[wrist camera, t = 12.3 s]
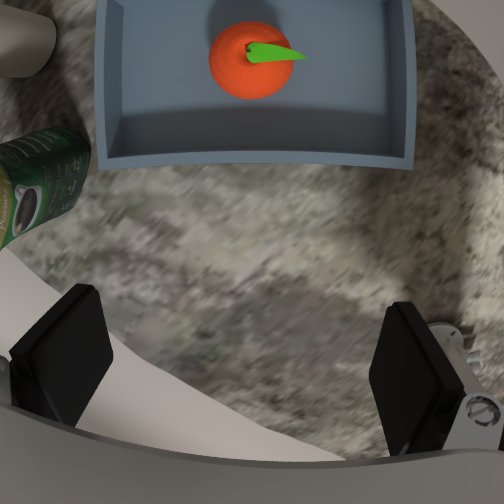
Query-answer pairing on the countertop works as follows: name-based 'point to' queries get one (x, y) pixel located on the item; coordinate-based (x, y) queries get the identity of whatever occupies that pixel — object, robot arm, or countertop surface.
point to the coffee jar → (39, 179)
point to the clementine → (251, 60)
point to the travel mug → (24, 42)
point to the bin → (264, 109)
